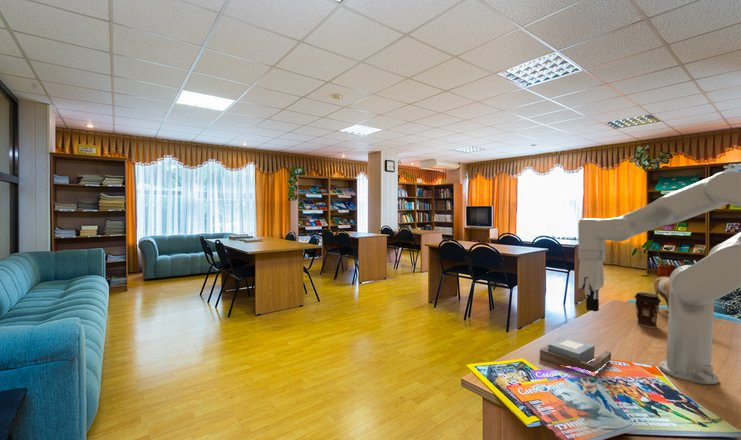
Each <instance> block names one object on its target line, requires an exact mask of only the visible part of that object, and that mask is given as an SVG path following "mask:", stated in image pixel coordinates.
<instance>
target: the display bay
mask: <svg viewBox="0 0 741 440" xmlns="http://www.w3.org/2000/svg"><path fill="white" fill-rule="evenodd" d="M561 338H562V337H559V338H557V340H559V339H561ZM611 358H612V352H611V351H607V350H605V351H603V352H602V353H601V354H600V355H598V357H596V358H594V361H592V362H591V363H587V362H584V361H581V360H577V359H574V358H571V357H568V356H564V355H561V354H558V353H555V352H551V351H548V344H547V345H545V346H544V347H542V348H540V349H539V360H542V361H543V362H547V363H549V364H550V363H551V364H553V365H556V366H559V365H563V366H571V367H578V368H581V369H585V370H588V371H591V372H595V371H597V370H598V369H599V368H601V367H602V366H603V365H604V364H605V363H606V362H608V361H610V360H611V361H612V359H611Z"/></svg>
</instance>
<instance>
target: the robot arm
mask: <svg viewBox="0 0 741 440" xmlns="http://www.w3.org/2000/svg"><path fill="white" fill-rule="evenodd" d="M726 205H732V206H736V207H741V171H739V170H738V171H736V170H724V171H720V172H717V173H715V174H714V175H712V176H709V177H707V178H704V179H702V180H700V181H697V182H695V183H692V184H690V185H687V186H685V187H683V188H680V189H677V190H674V191H673V192H670V193H668V194H665V195H663V196H661V197H659V198H657V199H656V200H654V201H653V202H651V203H648V204H647V205H644V206H642V207H639V208H637V209H636V210H633V211H631V212H628V213H626V214H623V215H621V216H618V217H612V218H611V217H610V218H599V217H598V218H597V217H596V218H595V217H593V218H592V217H589V218H581V219H579V221H578V225H577V226H578V227H577V231H578V235H577V236H578V237H577V238H578V260H579V265H578V283H577V284H578V287H577V288H578V289H579V290H584V295H585V305H586V306H585V307H586V311H592V312H598V311H599V310H600V306H599V304H600V303H599V297H600V296H599V295H600V289H602V288H603V287H604V283H605V282H604V275H605V274H604V273H605V272H604V261H606V241H614V242H625V241H627V240H630V239H631V238H632V237H635V236H638V235H640V234H641V235H642V234H643V233H646V232H648V231H651V230H655V229H656V228H657V229H658V228H660V227H664V226H669V225H673V224H677V223H680V222H683V221H686V220H689V219H692V218H693V217H697V216H699V215H702V214H705V213H708V212H710V211H713V210H715V209H716V210H717V209H719V208H721V207H724V206H726ZM669 277H670V279H669V313H668V315H667V316H668V318H667V339H666V340H667V342H666V360H663V361H660V362H659V367H658V368H660V370H661V371H662V372H663V373H665V374H667V375H669V376H672V377H674V378H676V379H679V380H682V381H686V382H689V383H690V382H691V383H695V384H701V385H715V384H718V382H719V379H720V378H719V376H718V375H717V374H716V373H715V372H713V371H714V366H712V355H713V354H712V351H713V335H714V332H713V331H714V318H715V315H714V312H715V306H714V305H715V301H717V300H720V299H721V298H723V297H725V296H726V295H728V294H730V293H733V292H734V291H736V290H737V289H739V288H741V231H740V232H738V233H736V234H735V235H733V236H731V237H730V238H727V239H726V240H725V241H723V242H721V243H718V244H716V245H715V246H713V247H712V248H711V249H710V251H709V252H708V255H706V256H705V257H703V258H702V259H700V260H698V261H697V262H694V263H693V264H685V265H681V266H678V267H677V268H675V269H674V270H673V271H671V274H670V275H669Z"/></svg>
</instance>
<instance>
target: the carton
mask: <svg viewBox="0 0 741 440" xmlns="http://www.w3.org/2000/svg"><path fill="white" fill-rule="evenodd" d="M560 338H561V339H559V338H558V339H559V340H558V339H556V340H554V341H553V342H550V343H548V344H547V345H548V351H551V352H555V353H558V354H561V355H564V356H568V357H571V358H574V359H577V360H581V361H584V362H588V361H590V360H592V359H594V360H595V348H596V346H595V345H594V344H592V343H589V342H588V343H587V342H584V341H580V340H576V339H573V338H570V337H568V336H563V337H560Z"/></svg>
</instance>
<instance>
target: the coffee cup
mask: <svg viewBox="0 0 741 440" xmlns="http://www.w3.org/2000/svg"><path fill="white" fill-rule="evenodd" d="M634 298H635V311H636V317H637V323H636V324H637V325H638V326H641V327H643V328H644V327H646V328H648V329H649V328H650V329H651V328H652V329H653V328H655V329H656V328H657V326H658V325H657V322H658V321H657V320H658V313H659V307H660V303H661V299H660V298H659V295H658V296H657V295H655V293H650V292H644V291H643V292H637V293H636V294H635V295H634Z"/></svg>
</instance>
